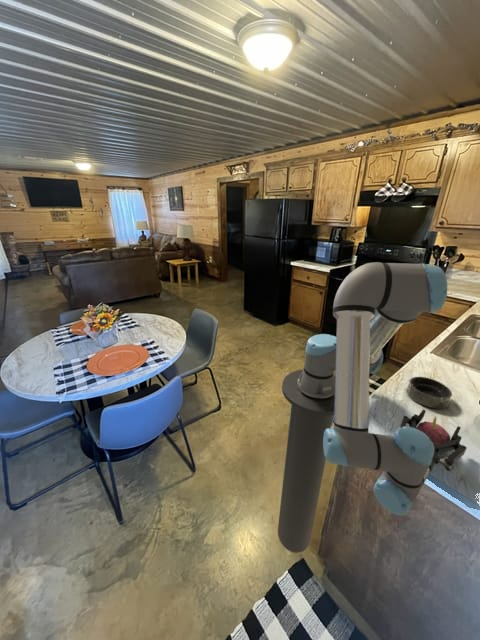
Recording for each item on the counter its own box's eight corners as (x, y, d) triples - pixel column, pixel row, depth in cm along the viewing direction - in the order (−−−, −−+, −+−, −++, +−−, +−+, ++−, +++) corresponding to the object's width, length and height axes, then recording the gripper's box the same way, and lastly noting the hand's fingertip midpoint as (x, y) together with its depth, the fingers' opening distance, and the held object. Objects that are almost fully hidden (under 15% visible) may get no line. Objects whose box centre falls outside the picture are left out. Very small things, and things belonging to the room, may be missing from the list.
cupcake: (433, 460, 77) (446, 429, 72) (406, 438, 84) (416, 408, 79) (451, 450, 80) (465, 420, 75) (424, 430, 87) (435, 401, 82)
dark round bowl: (401, 396, 103) (404, 385, 101) (413, 382, 111) (416, 372, 109) (441, 415, 94) (445, 404, 92) (451, 399, 101) (456, 388, 100)
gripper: (370, 446, 77) (400, 412, 91) (458, 504, 62) (479, 452, 76) (375, 427, 74) (406, 394, 88) (469, 483, 59) (489, 433, 73)
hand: (439, 421), depth 82 cm, fingers closed on cupcake, 8 cm apart
